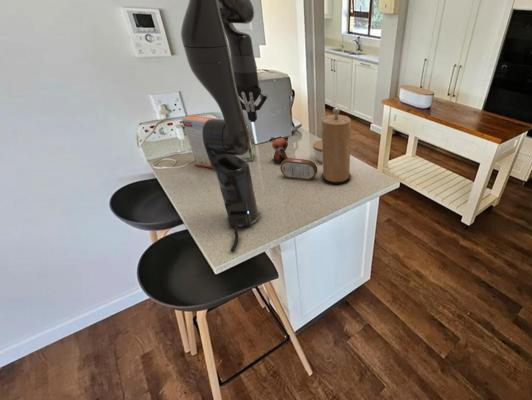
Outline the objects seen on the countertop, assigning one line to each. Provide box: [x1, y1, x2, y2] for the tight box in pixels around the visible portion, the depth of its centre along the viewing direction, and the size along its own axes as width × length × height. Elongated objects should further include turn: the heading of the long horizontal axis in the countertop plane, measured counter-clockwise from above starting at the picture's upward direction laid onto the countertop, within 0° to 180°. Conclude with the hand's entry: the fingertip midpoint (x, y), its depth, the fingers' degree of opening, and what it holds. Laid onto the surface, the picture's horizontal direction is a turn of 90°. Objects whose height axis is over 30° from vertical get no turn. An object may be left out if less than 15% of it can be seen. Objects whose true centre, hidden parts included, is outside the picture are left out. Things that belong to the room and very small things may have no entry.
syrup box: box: [238, 125, 254, 162], centre depth 125 cm, size 6×6×14 cm
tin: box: [280, 157, 318, 181], centre depth 114 cm, size 15×3×8 cm, turn 84°
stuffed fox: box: [270, 136, 290, 165], centre depth 126 cm, size 8×11×12 cm
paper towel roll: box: [321, 106, 352, 186], centre depth 110 cm, size 12×12×30 cm
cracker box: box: [181, 114, 218, 169], centre depth 116 cm, size 14×6×21 cm, turn 74°
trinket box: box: [312, 139, 323, 164], centre depth 129 cm, size 11×11×9 cm
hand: (253, 121), depth 102 cm, fingers closed
